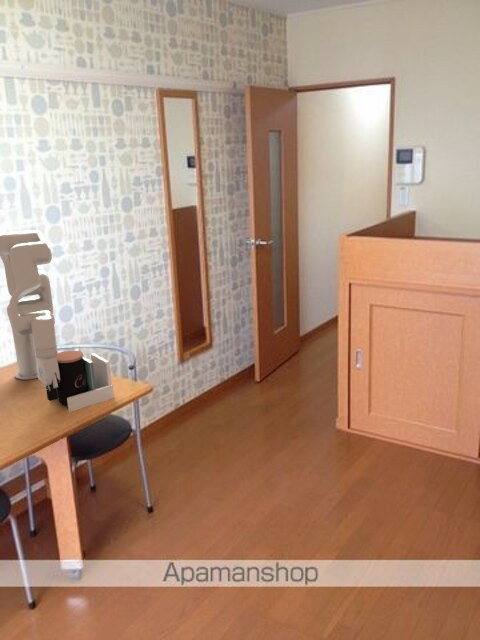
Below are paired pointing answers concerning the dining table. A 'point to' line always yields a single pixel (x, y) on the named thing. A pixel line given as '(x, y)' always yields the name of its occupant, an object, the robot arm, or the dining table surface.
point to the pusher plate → (89, 374)
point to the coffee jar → (71, 375)
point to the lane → (102, 386)
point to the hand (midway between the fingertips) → (52, 399)
